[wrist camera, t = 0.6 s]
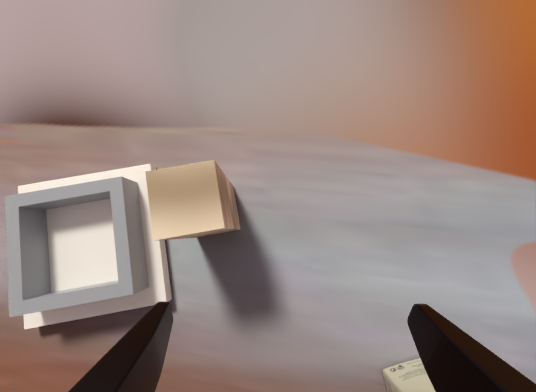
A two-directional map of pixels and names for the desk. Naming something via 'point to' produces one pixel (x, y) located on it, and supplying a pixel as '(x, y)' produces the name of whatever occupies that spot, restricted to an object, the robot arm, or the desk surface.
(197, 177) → the block
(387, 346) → the desk surface
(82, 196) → the square tray
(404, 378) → the skincare box
